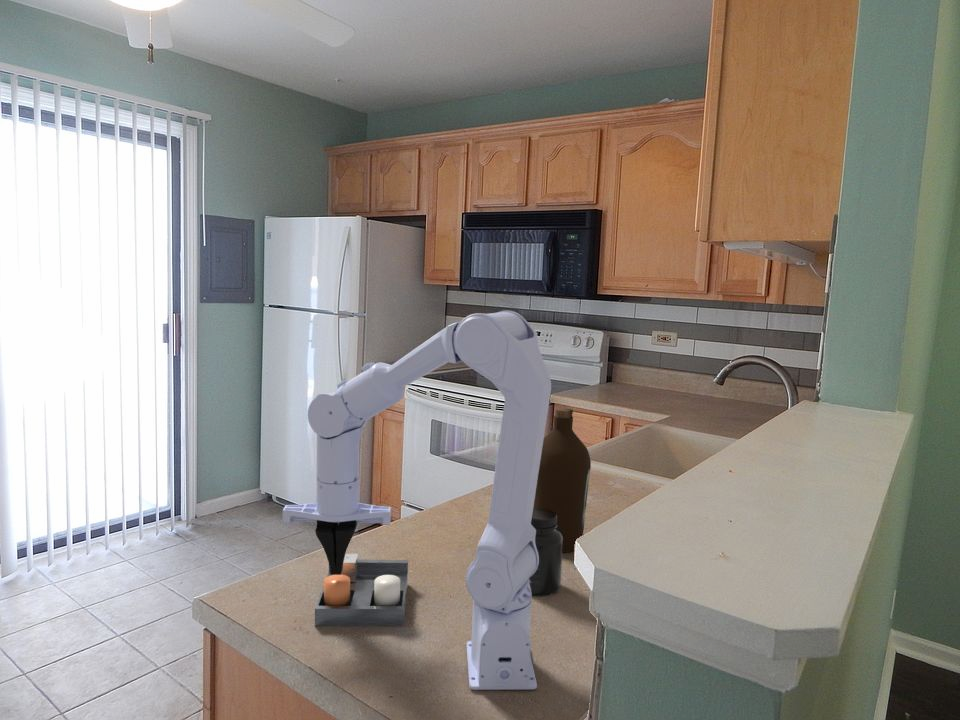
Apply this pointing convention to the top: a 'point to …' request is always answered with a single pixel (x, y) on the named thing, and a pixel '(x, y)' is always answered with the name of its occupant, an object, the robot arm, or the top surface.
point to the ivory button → (387, 590)
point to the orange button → (336, 590)
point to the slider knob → (350, 566)
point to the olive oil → (564, 478)
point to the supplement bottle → (546, 553)
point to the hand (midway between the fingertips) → (336, 571)
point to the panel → (366, 598)
